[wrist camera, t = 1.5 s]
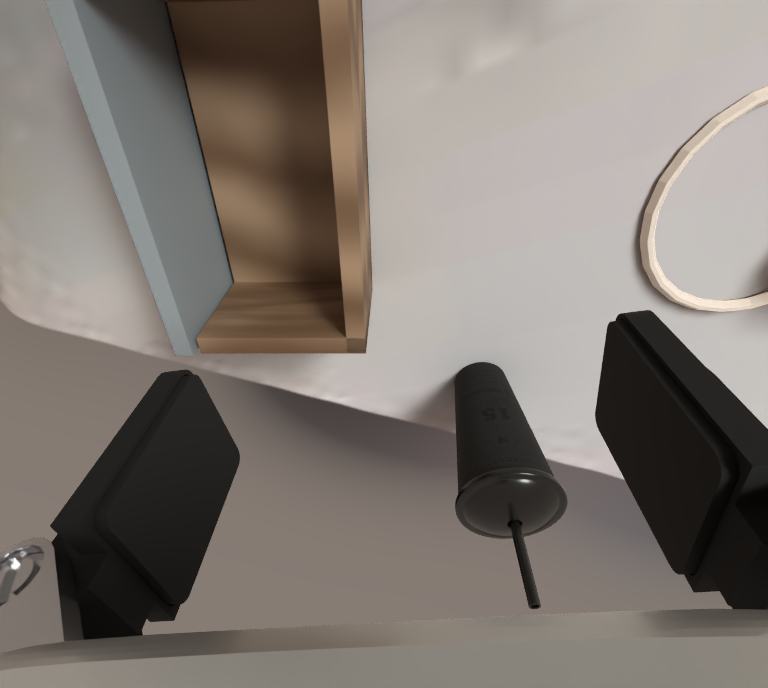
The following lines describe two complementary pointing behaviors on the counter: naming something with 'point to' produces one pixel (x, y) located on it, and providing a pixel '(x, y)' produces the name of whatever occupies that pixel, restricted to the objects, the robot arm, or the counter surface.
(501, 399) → the drinking cup
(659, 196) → the hand towel holder
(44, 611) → the robot arm
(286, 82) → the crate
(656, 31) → the counter surface
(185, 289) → the panel
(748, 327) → the counter surface
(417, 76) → the counter surface
